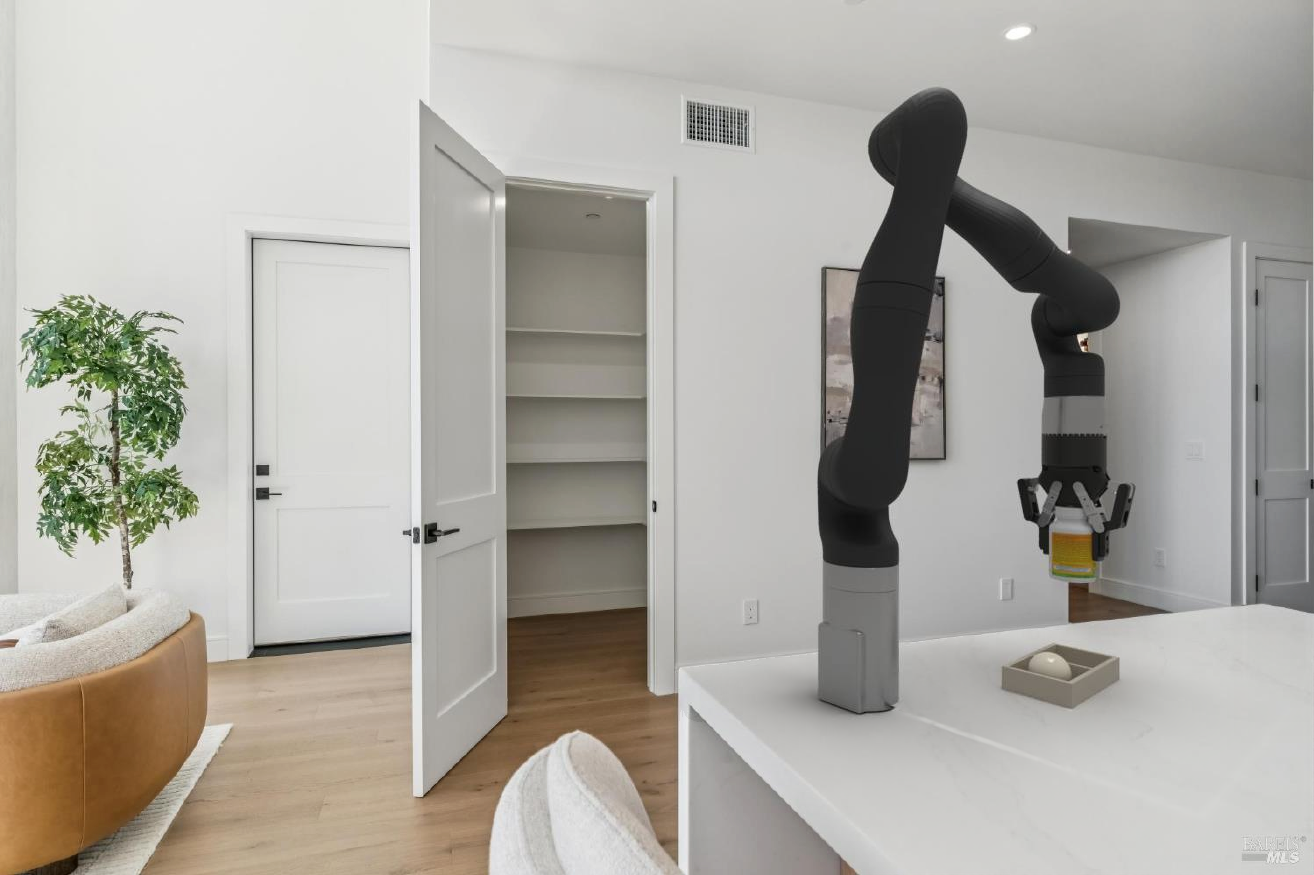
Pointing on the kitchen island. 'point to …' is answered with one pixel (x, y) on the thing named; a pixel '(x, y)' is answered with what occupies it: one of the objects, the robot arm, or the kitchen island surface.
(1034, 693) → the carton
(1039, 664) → the egg
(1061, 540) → the supplement bottle
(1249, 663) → the kitchen island surface
